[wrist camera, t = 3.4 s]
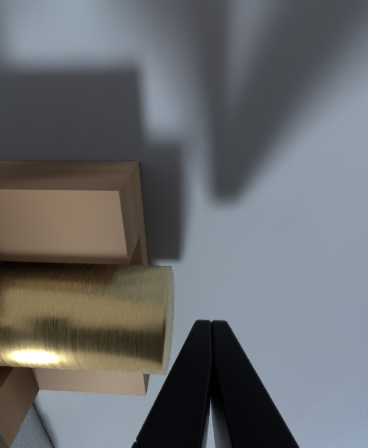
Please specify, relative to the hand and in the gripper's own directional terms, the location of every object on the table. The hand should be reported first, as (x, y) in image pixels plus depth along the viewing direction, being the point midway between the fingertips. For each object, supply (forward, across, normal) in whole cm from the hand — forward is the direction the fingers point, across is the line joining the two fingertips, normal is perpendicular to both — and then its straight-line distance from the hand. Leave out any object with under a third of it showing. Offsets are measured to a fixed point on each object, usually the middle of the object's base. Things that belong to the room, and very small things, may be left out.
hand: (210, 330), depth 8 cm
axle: (+2, +6, 0) cm, 7 cm away
